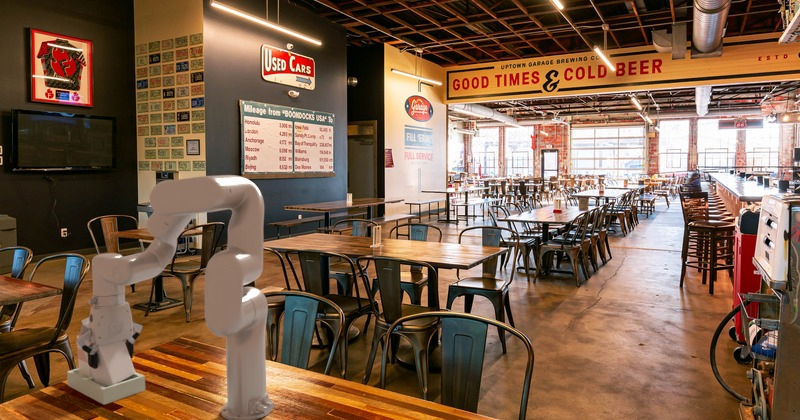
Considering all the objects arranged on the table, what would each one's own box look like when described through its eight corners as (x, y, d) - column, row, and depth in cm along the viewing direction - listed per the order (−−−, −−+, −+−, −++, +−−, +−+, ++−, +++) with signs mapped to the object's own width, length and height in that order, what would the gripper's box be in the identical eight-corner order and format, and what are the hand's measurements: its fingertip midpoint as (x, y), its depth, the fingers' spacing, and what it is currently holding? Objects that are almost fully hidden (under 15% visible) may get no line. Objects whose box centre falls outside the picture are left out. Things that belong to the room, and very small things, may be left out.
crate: (145, 392, 147) (144, 376, 147) (104, 407, 138) (103, 389, 138) (108, 375, 159) (107, 359, 159) (67, 388, 150) (67, 371, 150)
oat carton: (115, 382, 152) (112, 333, 151) (90, 390, 147) (87, 340, 146) (104, 376, 156) (101, 329, 155) (79, 384, 151) (76, 335, 150)
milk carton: (136, 373, 148) (113, 308, 146) (113, 386, 141) (89, 318, 140) (119, 375, 151) (97, 312, 149) (96, 388, 144) (73, 322, 143)
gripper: (81, 309, 134) (84, 375, 136) (148, 295, 148) (149, 356, 150) (68, 304, 139) (70, 368, 140) (134, 291, 153) (135, 350, 154)
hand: (111, 362), depth 145 cm, fingers open, 8 cm apart
